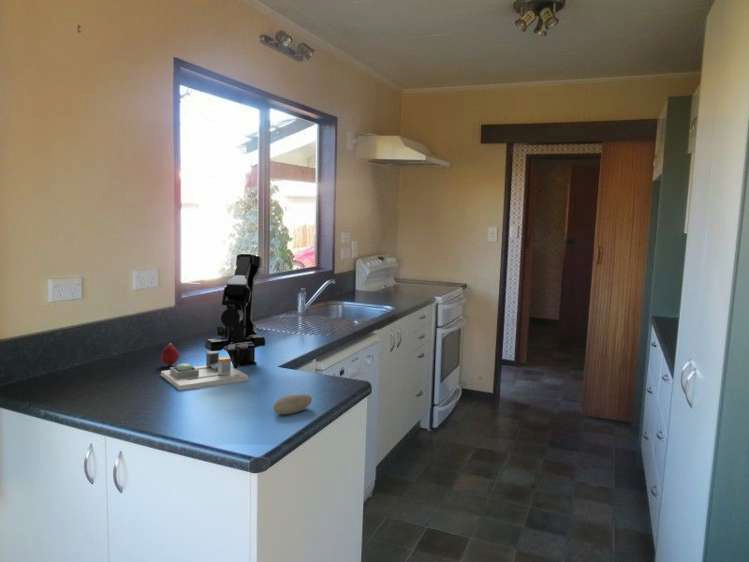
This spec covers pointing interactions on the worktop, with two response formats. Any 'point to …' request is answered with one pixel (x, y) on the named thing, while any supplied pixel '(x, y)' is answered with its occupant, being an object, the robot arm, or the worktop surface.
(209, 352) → the slider grey
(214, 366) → the rocker grey
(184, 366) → the button green
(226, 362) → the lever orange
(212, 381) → the panel
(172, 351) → the onion
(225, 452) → the worktop surface
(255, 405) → the worktop surface
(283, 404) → the stone
